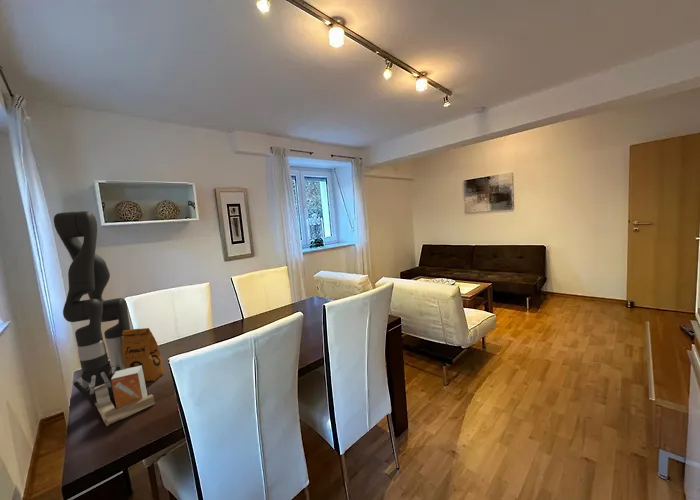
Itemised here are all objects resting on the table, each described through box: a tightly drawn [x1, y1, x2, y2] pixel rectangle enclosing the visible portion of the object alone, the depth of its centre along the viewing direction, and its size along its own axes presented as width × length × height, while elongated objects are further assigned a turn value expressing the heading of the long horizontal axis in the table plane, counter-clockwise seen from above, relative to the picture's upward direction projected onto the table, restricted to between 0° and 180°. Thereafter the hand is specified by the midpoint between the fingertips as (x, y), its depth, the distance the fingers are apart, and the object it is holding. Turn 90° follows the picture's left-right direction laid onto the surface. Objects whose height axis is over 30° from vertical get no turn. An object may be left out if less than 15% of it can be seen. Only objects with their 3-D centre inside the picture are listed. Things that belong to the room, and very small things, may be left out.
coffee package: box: [121, 327, 165, 383], centre depth 129 cm, size 10×12×22 cm
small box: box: [110, 365, 148, 410], centre depth 111 cm, size 8×6×13 cm
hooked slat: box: [94, 383, 156, 427], centre depth 115 cm, size 30×14×7 cm, turn 48°
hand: (102, 399), depth 112 cm, fingers closed on hooked slat, 3 cm apart
